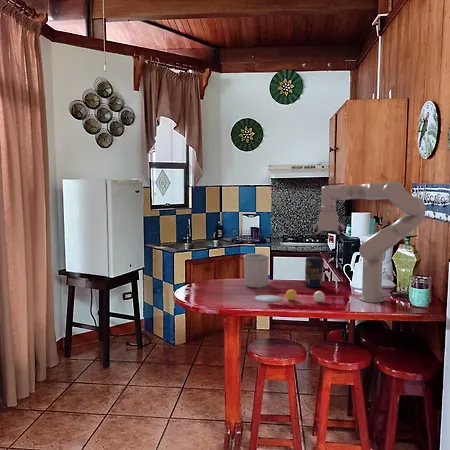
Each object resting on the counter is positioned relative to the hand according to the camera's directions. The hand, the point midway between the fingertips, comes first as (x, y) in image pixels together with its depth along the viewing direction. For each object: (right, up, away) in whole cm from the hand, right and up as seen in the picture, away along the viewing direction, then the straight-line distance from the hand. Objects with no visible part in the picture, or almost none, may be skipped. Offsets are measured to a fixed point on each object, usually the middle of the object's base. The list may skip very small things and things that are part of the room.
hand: (328, 241), depth 241 cm
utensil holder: (-37, -27, +25) cm, 52 cm away
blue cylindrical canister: (-4, -27, +20) cm, 34 cm away
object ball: (-21, -27, -9) cm, 36 cm away
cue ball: (-8, -28, -13) cm, 31 cm away
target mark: (-33, -30, -6) cm, 45 cm away
